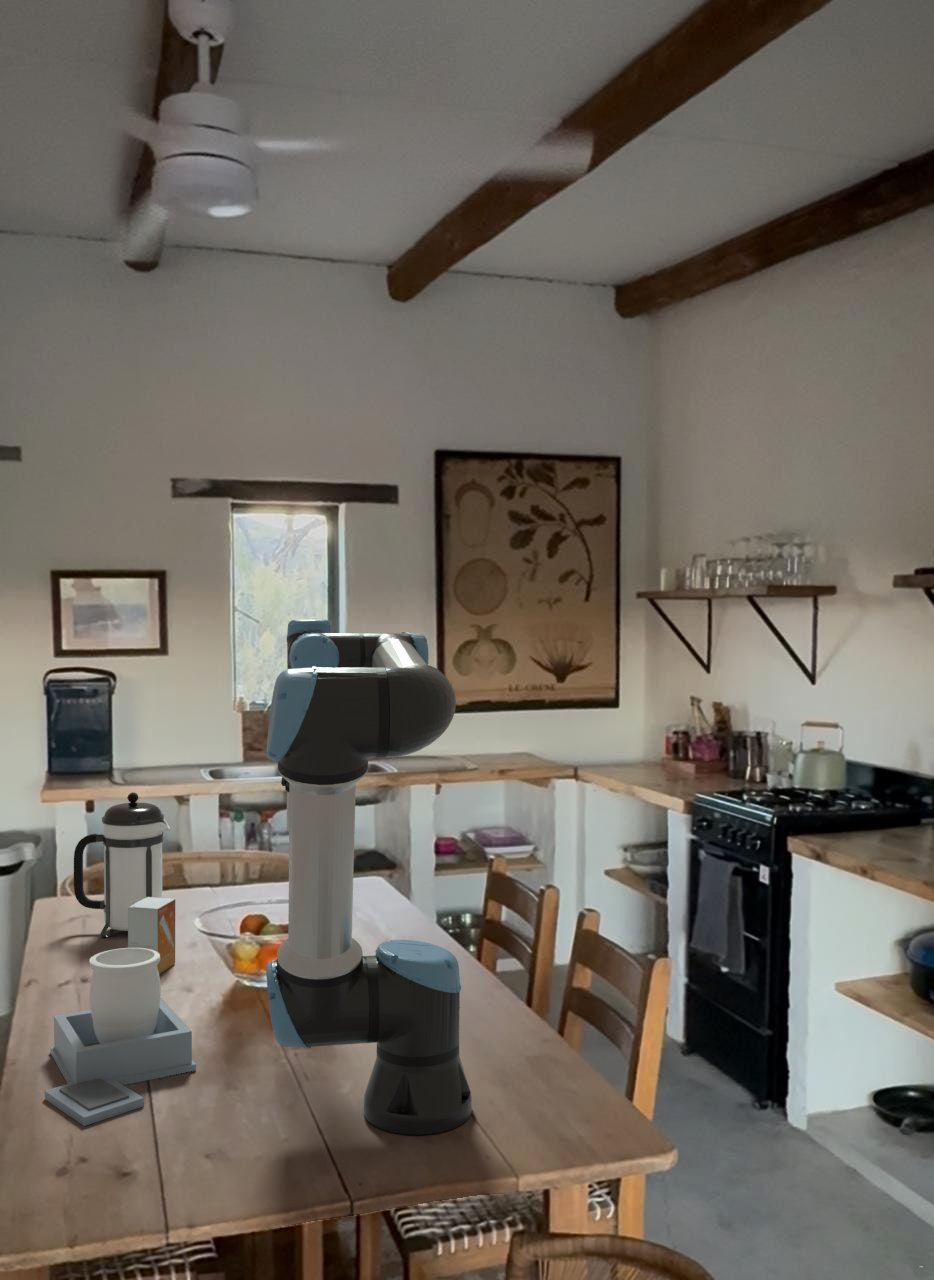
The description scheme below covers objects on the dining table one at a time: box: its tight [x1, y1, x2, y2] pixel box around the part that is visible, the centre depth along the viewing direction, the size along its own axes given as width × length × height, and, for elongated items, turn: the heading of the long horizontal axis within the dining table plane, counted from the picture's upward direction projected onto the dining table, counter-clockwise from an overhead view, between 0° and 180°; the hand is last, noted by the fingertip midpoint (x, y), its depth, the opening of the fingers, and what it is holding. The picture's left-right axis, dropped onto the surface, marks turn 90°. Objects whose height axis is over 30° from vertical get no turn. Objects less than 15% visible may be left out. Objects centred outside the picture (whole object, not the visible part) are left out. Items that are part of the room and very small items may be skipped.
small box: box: [127, 897, 176, 975], centre depth 227 cm, size 8×6×13 cm
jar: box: [88, 947, 162, 1044], centre depth 182 cm, size 11×10×15 cm
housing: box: [49, 997, 197, 1086], centre depth 182 cm, size 18×18×6 cm
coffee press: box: [73, 792, 171, 938], centre depth 252 cm, size 17×16×30 cm
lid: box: [44, 1078, 145, 1127], centre depth 167 cm, size 12×9×2 cm
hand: (309, 836), depth 198 cm, fingers open, 13 cm apart
